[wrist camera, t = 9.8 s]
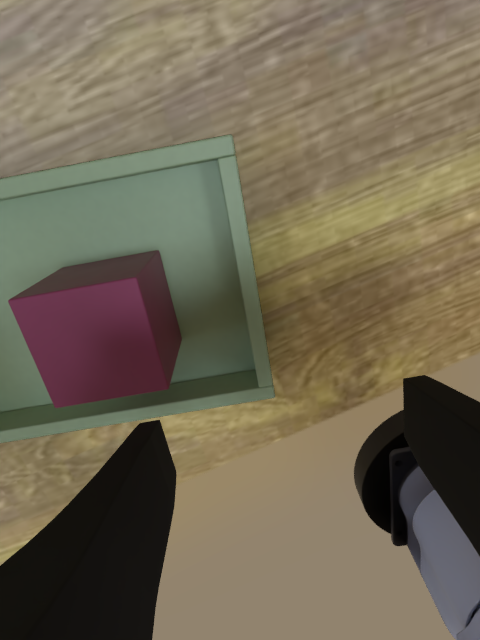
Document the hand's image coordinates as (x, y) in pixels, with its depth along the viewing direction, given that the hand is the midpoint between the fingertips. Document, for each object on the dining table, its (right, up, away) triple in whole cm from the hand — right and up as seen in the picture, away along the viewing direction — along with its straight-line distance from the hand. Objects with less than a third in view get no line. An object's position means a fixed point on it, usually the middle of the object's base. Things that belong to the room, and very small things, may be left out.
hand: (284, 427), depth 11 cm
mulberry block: (-7, +4, +7) cm, 10 cm away
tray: (-8, +4, +7) cm, 12 cm away
